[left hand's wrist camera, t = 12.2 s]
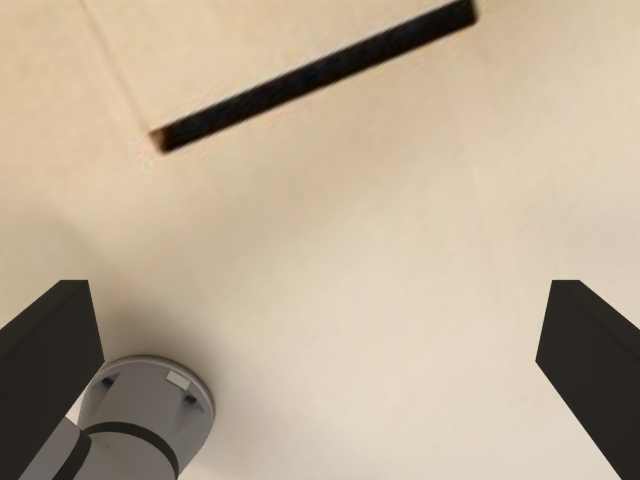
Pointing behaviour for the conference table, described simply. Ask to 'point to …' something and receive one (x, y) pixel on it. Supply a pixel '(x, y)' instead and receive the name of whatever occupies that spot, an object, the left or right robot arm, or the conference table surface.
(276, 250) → the conference table surface
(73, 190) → the conference table surface
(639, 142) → the conference table surface
